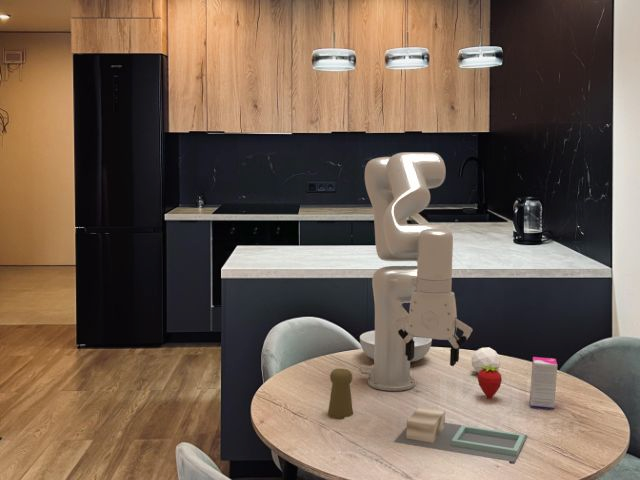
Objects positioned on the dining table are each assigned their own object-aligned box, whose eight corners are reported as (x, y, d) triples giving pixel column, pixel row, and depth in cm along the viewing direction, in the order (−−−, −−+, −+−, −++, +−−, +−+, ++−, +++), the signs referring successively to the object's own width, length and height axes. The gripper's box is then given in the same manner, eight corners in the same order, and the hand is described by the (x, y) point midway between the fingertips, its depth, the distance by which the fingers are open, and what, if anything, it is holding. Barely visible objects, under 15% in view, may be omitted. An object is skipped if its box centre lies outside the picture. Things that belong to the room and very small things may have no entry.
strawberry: (480, 404, 211) (481, 364, 209) (474, 394, 218) (475, 356, 217) (503, 404, 211) (505, 365, 209) (497, 394, 218) (498, 356, 217)
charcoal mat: (393, 443, 185) (393, 441, 185) (414, 419, 199) (414, 417, 199) (514, 463, 175) (514, 461, 175) (526, 436, 190) (527, 435, 189)
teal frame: (451, 445, 183) (451, 440, 183) (461, 430, 192) (462, 425, 192) (517, 456, 178) (517, 450, 177) (524, 439, 187) (525, 434, 187)
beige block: (433, 442, 184) (433, 425, 184) (406, 438, 187) (406, 420, 186) (444, 427, 194) (445, 410, 193) (419, 423, 196) (419, 406, 195)
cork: (356, 412, 204) (357, 367, 202) (348, 420, 198) (349, 374, 197) (332, 408, 206) (333, 364, 204) (324, 417, 200) (325, 371, 199)
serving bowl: (434, 353, 255) (435, 330, 254) (427, 373, 235) (427, 349, 234) (366, 348, 260) (366, 326, 259) (353, 367, 240) (353, 343, 239)
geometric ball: (491, 383, 236) (510, 362, 234) (478, 379, 230) (497, 358, 228) (474, 364, 240) (493, 344, 239) (460, 360, 235) (479, 339, 233)
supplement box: (555, 410, 207) (557, 364, 205) (530, 408, 208) (532, 362, 207) (553, 402, 213) (556, 357, 211) (529, 400, 214) (531, 356, 212)
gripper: (390, 285, 185) (389, 361, 188) (469, 292, 179) (466, 371, 181) (400, 279, 192) (399, 353, 195) (477, 286, 186) (474, 362, 188)
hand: (431, 361), depth 188 cm, fingers open, 9 cm apart
